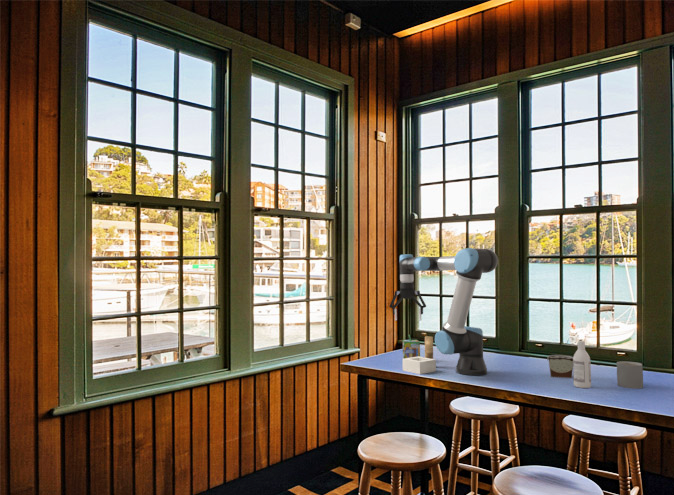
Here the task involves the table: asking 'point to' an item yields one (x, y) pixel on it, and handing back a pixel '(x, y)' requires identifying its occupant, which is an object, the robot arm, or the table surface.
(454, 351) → the robot arm
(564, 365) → the food container
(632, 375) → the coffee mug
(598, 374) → the table surface
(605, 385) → the table surface
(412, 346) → the juice carton
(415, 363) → the socket block
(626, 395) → the table surface
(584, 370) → the bath foam
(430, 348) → the oak peg
